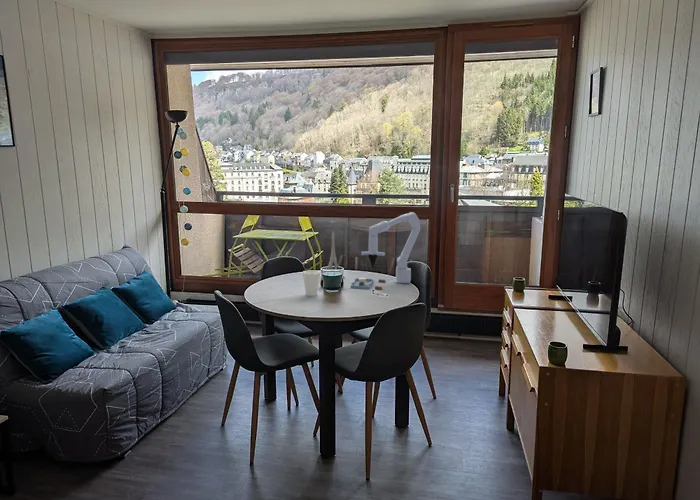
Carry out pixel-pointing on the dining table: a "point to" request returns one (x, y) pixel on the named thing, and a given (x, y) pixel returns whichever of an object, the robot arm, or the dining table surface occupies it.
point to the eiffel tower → (333, 254)
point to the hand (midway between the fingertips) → (372, 266)
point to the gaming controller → (322, 283)
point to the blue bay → (362, 286)
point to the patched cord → (362, 281)
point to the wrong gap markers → (380, 286)
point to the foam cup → (311, 282)
